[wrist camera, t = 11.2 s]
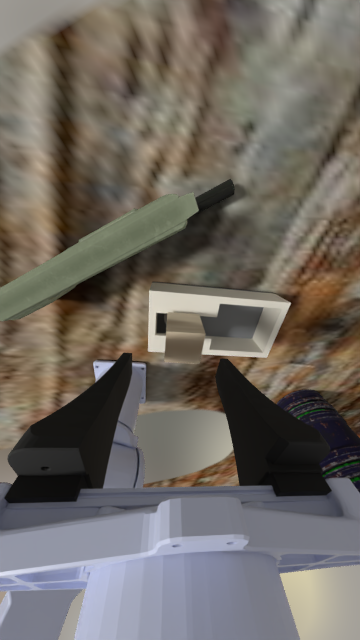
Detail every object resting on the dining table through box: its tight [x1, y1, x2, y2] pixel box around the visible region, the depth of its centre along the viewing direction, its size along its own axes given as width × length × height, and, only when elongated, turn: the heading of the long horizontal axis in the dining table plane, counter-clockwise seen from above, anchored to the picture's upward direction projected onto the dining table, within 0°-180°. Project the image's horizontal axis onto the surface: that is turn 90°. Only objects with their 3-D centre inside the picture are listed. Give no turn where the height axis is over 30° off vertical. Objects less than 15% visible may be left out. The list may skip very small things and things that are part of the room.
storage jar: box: [277, 390, 360, 493], centre depth 27 cm, size 10×10×15 cm
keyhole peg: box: [164, 312, 206, 364], centre depth 19 cm, size 4×4×8 cm
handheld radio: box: [0, 179, 234, 321], centre depth 16 cm, size 7×3×25 cm
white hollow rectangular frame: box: [148, 282, 291, 358], centre depth 21 cm, size 16×8×4 cm, turn 84°
